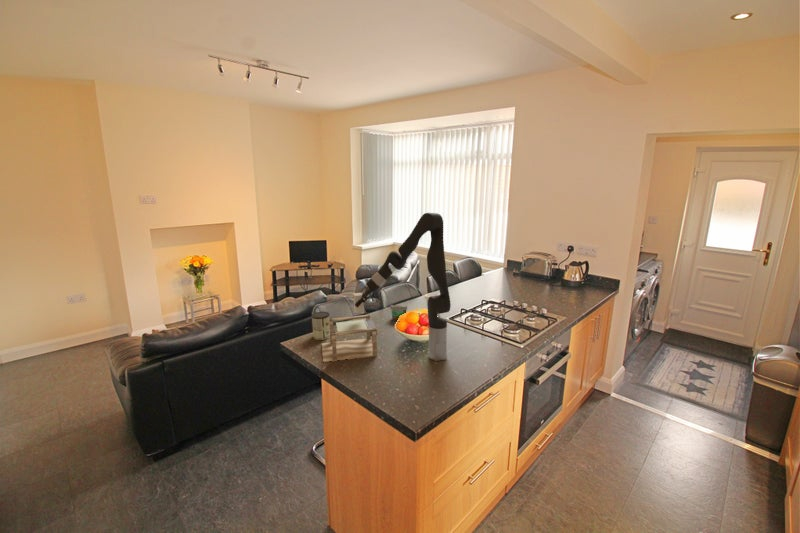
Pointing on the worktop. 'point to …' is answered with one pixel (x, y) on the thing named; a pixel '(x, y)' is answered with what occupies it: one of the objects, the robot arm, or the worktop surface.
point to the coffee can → (321, 325)
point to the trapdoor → (355, 325)
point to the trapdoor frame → (349, 343)
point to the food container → (397, 311)
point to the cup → (430, 296)
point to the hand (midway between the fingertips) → (355, 304)
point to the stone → (356, 298)
